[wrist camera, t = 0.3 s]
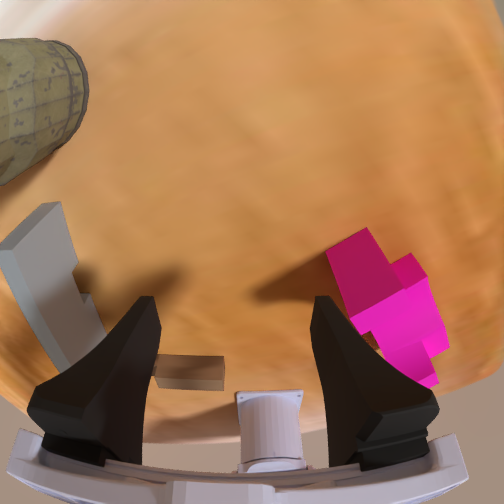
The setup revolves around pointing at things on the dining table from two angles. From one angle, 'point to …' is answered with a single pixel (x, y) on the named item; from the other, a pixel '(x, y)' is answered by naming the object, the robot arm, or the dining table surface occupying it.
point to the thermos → (38, 101)
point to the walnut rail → (189, 372)
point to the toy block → (390, 305)
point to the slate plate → (50, 286)
